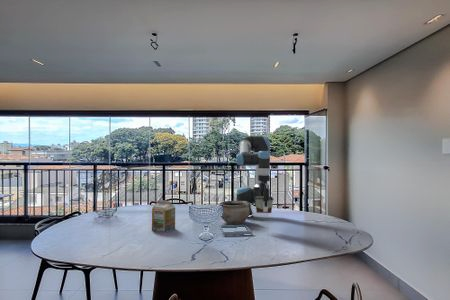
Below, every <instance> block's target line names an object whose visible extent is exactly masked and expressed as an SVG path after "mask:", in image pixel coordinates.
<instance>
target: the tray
mask: <svg viewBox="0 0 450 300" xmlns="http://www.w3.org/2000/svg"><path fill="white" fill-rule="evenodd" d="M237 227H245V228H246V230H247V231H234V232H224V231H223V229H222V228H237ZM219 228H220V230H221V232H222V233H221V232H220V233H221V235H222V234H223V235H244V234H252V233H253V232H252V230H251V229H250V228H249V227H248V226H247V225H246V224H222V225H221V224H219ZM219 228H218V229H219ZM220 230H219V231H220ZM223 235H222V236H223Z"/></svg>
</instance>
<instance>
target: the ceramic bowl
mask: <svg viewBox="0 0 450 300" xmlns="http://www.w3.org/2000/svg"><path fill="white" fill-rule="evenodd" d="M218 204H219V206H222V207H223V213H222V216H220V218H221V219H222V220H223V221H224V222H225V223H227V224H229V223H230V224H229V225H241V224H240V223H242V224H243V223H245V222H246V221H247V219H248V216H249V203H248V202H246V201H236V200H226V201H225V200H223V201H221V202H219V203H218Z"/></svg>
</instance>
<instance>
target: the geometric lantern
mask: <svg viewBox="0 0 450 300" xmlns="http://www.w3.org/2000/svg"><path fill="white" fill-rule="evenodd" d="M114 177H115V178H114ZM98 178H99V179H98ZM92 180H93V181H95V182H96V183H97V184H98V185H97V187H96V199H95V207H94V212H95V213H96V214H98V218H103V219H109V218H111V217H114V214H115V213H116V212H117V211H118V205H117V182H119V180H121V178H120V177H118V176H116V175H114V174H113V173H111V172H107V171H106V172H104V173H103V174H100V175H99V176H97V177H94V178H93V179H92ZM107 181H108V182H110V183H109V185H108V187H106V186H105V185H104V183H105V182H107ZM100 185H102V186H103V188H99V186H100ZM111 185H113V186H114V187H113V188H112V187H111ZM110 187H111V188H110ZM100 190H101V191H102V190H103V192H104V195H103V202H104V203H103V208H102V209H97V208H98V207H97V205H98V192H99V191H100ZM110 190H114V194H115V196H114V197H115V209H113V208H112V209H111V208H110V200H109V199H110V192H109V191H110ZM101 211H102V212H101Z"/></svg>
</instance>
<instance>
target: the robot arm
mask: <svg viewBox="0 0 450 300" xmlns="http://www.w3.org/2000/svg"><path fill="white" fill-rule="evenodd" d="M238 148H239V153H237V154H236V156H235V157H236V158H235V163H236V165H240V166H255V184H254V185H253V188H252V187H251V186H243V187H239V188H238V187H237V189H236V193H235V195H236V197H235V198H236V200H235V201H246V202H248V203H249V215H252V214H253V215H254V212H253V209H252V204H256V202H255V200H254V199H255V197H256V196H263V197H264V200H263V212H268V201H269V196H270V197H271V190H270V185H269V184H268V182H270V180H271V175H270V174H271V166H270V165H271V152H270V150H271V144H270V139H269V137H268V136H266V135H256V136H255V135H254V136H253V135H249V136H246V137H244V138H242V139H240V141H239V143H238ZM251 151H253V153H251Z"/></svg>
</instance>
